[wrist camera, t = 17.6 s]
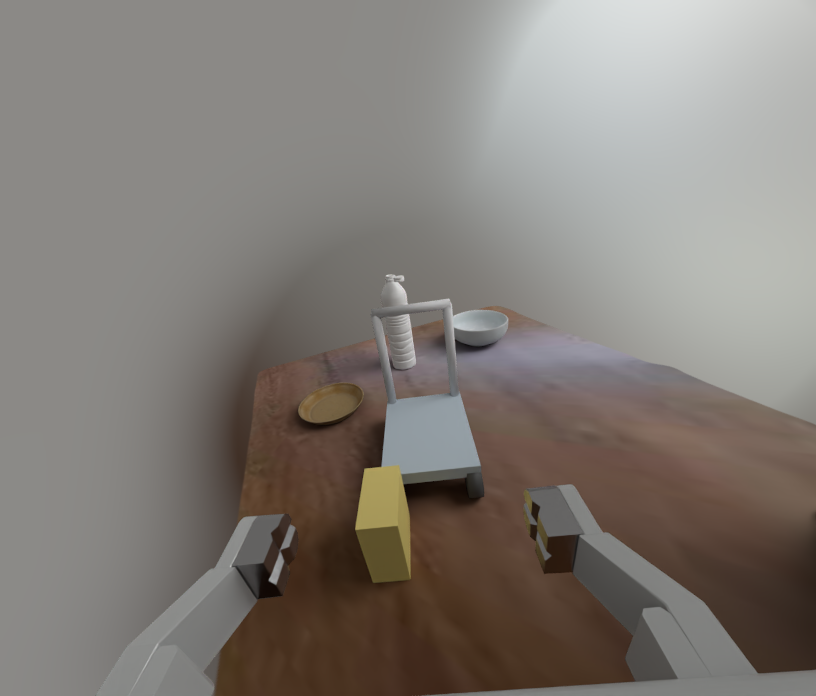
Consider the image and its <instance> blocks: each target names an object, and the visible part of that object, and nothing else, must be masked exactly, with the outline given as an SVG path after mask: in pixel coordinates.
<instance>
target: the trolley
mask: <svg viewBox="0 0 816 696" xmlns="http://www.w3.org/2000/svg"><path fill="white" fill-rule="evenodd" d="M442 309H443V320H444V331H445V342H446V352H447V363H448V374H449V384H450V393H447V394H439V395H431V396H422V397H414V398H406V399H397V400H396V395H395V389H394V384H393V379H392V373H391V368H390V363H389V358H388V352H387V347H386V342H385V336H384V331H383V326H382V321H381V318H383V317H390V316H398V315H405V314H412V313H420V312H427V311H434V310H442ZM371 319H372V323H373V329H374V333H375V339H376V344H377V348H378V353H379V358H380V363H381V368H382V373H383V378H384V383H385V388H386V393H387V397H388V402H387V413H386V424H385V434H384V445H383V456H382V467H385V466H395V465H399V467H400V471H401V476H402V481H403V484H410V483H420V482H430V481H439V480H449V479H458V478H465V482H466V487H467V492H468V496H469V498H477V497H484V486H483V479H482V474H481V465H480V461H479V458H478V454H477V451H476V447H475V444H474V441H473V437H472V434H471V430H470V427H469V423H468V420H467V416H466V413H465V409H464V406H463V403H462V399H461V396H460V392H459V389H458V376H457V364H456V351H455V338H454V325H453V313H452V303H450V299H443V300H436V301H429V302H421V303H414V304H407V305H400V306H392V307H385V308H378V309H372V310H371Z"/></svg>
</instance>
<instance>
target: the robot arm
mask: <svg viewBox="0 0 816 696" xmlns="http://www.w3.org/2000/svg"><path fill="white" fill-rule="evenodd" d="M524 498H525V500H526V504H525V505H524V518H525V523H526V526H527V530H528V532H529V535H530V537H531V538H532V539H533V540H535V541H536V550H535V551H536V554H537V556H538V559H539V561H540V564H541V567H542V569H543V572H544V574H548V573H566V572H573V575H574V576H575V577H576V578H577V579H578V580H579V581H580V582H581V583H582V584H583V585H584V586H585V587H586V588H587V589H588V590H589V591H590V592H591V593H592V594H593V595H594V596H595V597H596V598H597V599H598V600H599V601H600V602H601V603H602V604H603V605H604V607H605V608H606V609H607V610H608V611H609V612H610V613H611V614H612V615H613V616H614V617H615V618H616V619H617V620H618V621H619V622H620V623H621V624H622V625H623V626H624V627H625V628H626V629H627V630H628V631H629V632H630V633H631V634H632V635H633V638H632V641H631V643H630V646H629V649H628V651H627V654H626V657H625V660H626V662H627V665H628V667H629V669H630V671H631V673H632V675H633V677H634V679H635V681H636V682H623V683H607V684H592V685H577V686H562V687H546V688H531V689H516V690H501V691H485V692H470V693H455V694H440V695H424V696H816V670H806V671H791V672H775V673H760V674H758V673H757V672H756V670H755V669H754V668H753V666H752V665H751V664H750V662H749V661H748V660H747V658H746V657H745V656H744V654H743V653H742V652H741V650H740V649H739V648H738V646H737V645H736V644H735V642H734V641H733V640H732V639H731V637H730V636H729V635H728V633H727V632H726V631H725V629H724V628H723V627H722V625H721V624H720V623H719V621H718V620H717V619H716V617H715V616H714V615H713V613H712V612H711V611H710V609H709V608H708V607H707V605H706V604H705V603H704V602H703V601H702V600H700V599H699V598H698V597H696V596H695V595H693V594H692V593H691V592H689V591H688V590H687V589H685V588H684V587H682V586H681V585H680V584H678V583H677V582H675V581H674V580H673V579H671V578H670V577H669V576H667V575H666V574H664V573H663V572H662V571H660V570H659V569H658V568H656V567H655V566H653V565H652V564H651V563H649V562H648V561H646V560H645V559H644V558H642V557H641V556H640V555H638V554H637V553H635V552H634V551H633V550H631V549H630V548H629V547H627V546H626V545H624V544H623V543H622V542H620V541H619V540H617V539H616V538H615V537H613V536H612V535H611V534H609V533H603V532H602V531H601V529H600V527H599V526H598V524H597V522H596V521H595V519H594V517H593V516H592V514H591V513H590V511H589V509H588V508H587V506H586V504H585V503H584V501H583V499H582V498H581V496H580V495H579V493H578V491H577V490H576V488H575V487H574V486H573V485H572V484H568V485H560V486H547V487H538V488H530V489H525V491H524ZM291 520H292V519H291V518H290V516H289V514H276V515H263V516H251V517H244V518H243V519H242V520H241V521H240V522H239V524H238V525H237V527H236V529H235V531H234V533H233V535H232V537H231V539H230V541H229V543H228V544H227V546H226V548H225V550H224V552H223V554H222V556H221V558H220V559H219V561H218V563H217V565H216V567H215V568H214V569H210V570H209V571H208V572H207V573H205V574H204V575H203V576H202V577H201V578H200V579H199V580H198V581H197V582H196V583H195V584H194V585H193V586H191V587H190V588H189V589H188V590H187V591H186V592H185V593H184V594H183V595H182V596H181V597H180V598H179V599H177V600H176V601H175V602H174V603H173V604H172V605H171V606H170V607H169V608H168V609H167V610H166V611H165V612H163V613H162V614H161V615H160V616H159V617H158V618H157V619H156V620H155V621H154V622H153V623H152V624H151V625H150V626H149V627H147V628H146V629H145V630H144V631H143V632H142V633H141V634H140V635H139V636H138V637H137V638H136V639H134V640H133V641H132V642H131V643H130V644H129V645H128V646H127V647H126V648H125V650H124V652H123V653H122V655H121V656H120V658H119V659H118V661H117V663H116V664H115V666H114V667H113V669H112V671H111V672H110V674H109V675H108V677H107V678H106V680H105V682H104V683H103V685H102V686H101V688H100V689H99V691H98V692H97V694H96V696H212V693H213V691H214V688H215V687H214V683H213V681H212V680H211V679H210V678H209V677H208V676H207V675H206V674H205V673H204V670H205V669H206V668H207V666H208V665H209V664H210V663H211V661H212V660H213V659H214V657H215V656H216V655H217V653H218V652H219V651H220V649H221V648H222V647H223V645H224V644H225V643H226V641H227V640H228V639H229V638H230V636H231V635H232V634H233V632H234V631H235V630H236V628H237V627H238V626H239V624H240V623H241V622H242V620H243V619H244V618H245V617H246V615H247V614H248V613H249V611H250V610H251V609H252V607H253V606H254V605H255V603H256V602H257V599H262V598H271V597H279V596H283V594H284V591H285V588H286V584H287V581H288V578H289V575H290V571H289V567H288V565H289V564H290V563H291V562H292V561H293V560H294V559H295V556H296V553H297V549H298V540H299V539H298V532H297V530H296V528H295V527H293V526H292V525H290V523H291Z"/></svg>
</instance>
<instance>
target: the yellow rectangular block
mask: <svg viewBox="0 0 816 696" xmlns="http://www.w3.org/2000/svg"><path fill="white" fill-rule="evenodd" d="M355 531H356V534H357V537H358V540H359V543H360V546H361V549H362V552H363V555H364V558H365V561H366V564H367V567H368V570H369V573H370V576H371V579H372V581H373V583H379V582H391V581H402V580H411V572H410V515H409V510H408V505H407V500H406V496H405V491H404V486H403V481H402V476H401V471H400V467H399V465H395V466H385V467H376V468H367V469H364V476H363V482H362V488H361V495H360V501H359V508H358V514H357V521H356V527H355Z"/></svg>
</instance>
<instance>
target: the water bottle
mask: <svg viewBox="0 0 816 696" xmlns="http://www.w3.org/2000/svg"><path fill="white" fill-rule="evenodd" d="M385 280H386V283H385V286H384V288H383V290H382V292H381V302H382V305H383V308H385V307H392V306H400V305H407V304H408V303H407V295H406V292H405V290H404V289H403V287H402V286H401V285H400V284H399V283H398V282H401V281H404V276H395V275H394V274H390V275H386V279H385ZM399 280H401V281H399ZM385 323H386V329H387V335H388V339H389V344H390V350H391V356H392V362H393V366H394V368H396V369H401V370H405V369H409V368H412V367H413V366H415V364H416V357H415V351H414V344H413V337H412V330H411V323H410V318H409V314H405V315H398V316H390V317H385Z"/></svg>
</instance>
